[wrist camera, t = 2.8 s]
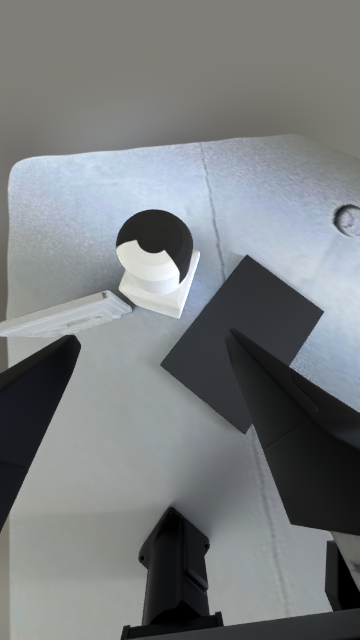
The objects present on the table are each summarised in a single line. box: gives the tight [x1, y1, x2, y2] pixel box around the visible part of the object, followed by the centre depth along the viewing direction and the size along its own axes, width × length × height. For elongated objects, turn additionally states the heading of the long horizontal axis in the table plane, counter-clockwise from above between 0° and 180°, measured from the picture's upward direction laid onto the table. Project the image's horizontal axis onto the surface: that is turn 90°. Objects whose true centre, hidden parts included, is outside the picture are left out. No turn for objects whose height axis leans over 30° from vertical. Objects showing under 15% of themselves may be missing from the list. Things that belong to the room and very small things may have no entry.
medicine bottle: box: [116, 209, 200, 319], centre depth 16 cm, size 7×7×12 cm
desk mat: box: [160, 255, 324, 434], centre depth 22 cm, size 22×15×1 cm
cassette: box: [0, 290, 132, 337], centre depth 18 cm, size 12×2×8 cm, turn 109°
